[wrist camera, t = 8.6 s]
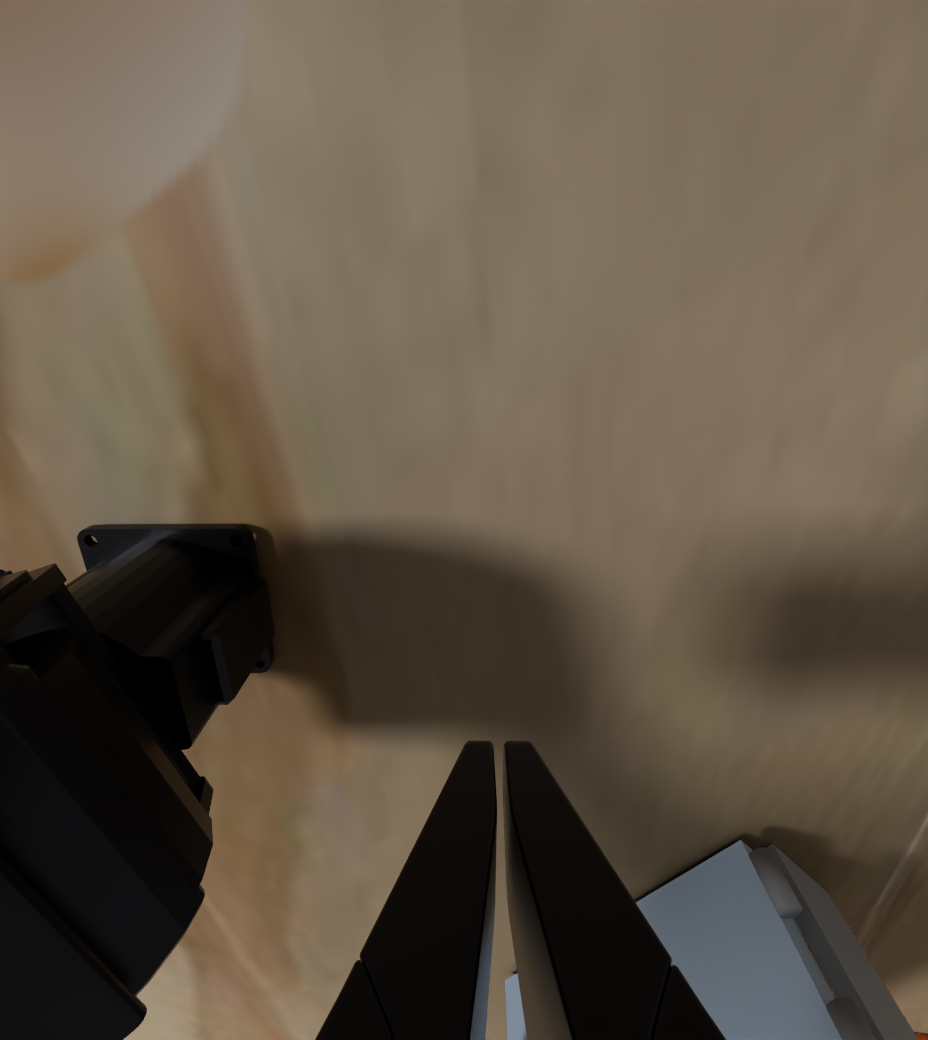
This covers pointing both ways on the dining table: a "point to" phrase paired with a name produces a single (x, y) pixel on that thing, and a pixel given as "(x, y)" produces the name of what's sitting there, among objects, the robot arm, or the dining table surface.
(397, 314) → the dining table surface
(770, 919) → the door
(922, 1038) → the coffee cup
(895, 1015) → the cabinet
